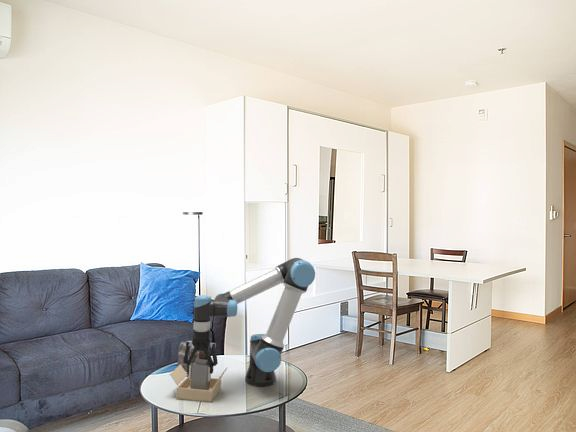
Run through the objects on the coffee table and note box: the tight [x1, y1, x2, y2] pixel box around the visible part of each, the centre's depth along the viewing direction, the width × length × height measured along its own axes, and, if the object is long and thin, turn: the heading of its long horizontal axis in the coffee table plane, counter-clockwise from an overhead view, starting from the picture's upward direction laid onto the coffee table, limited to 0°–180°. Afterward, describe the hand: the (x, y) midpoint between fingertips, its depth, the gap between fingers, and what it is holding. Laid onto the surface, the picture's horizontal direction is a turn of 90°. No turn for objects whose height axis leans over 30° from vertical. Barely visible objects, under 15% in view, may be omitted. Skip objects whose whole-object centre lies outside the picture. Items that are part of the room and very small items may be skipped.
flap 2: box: [213, 367, 228, 388], centre depth 215 cm, size 6×13×1 cm
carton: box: [175, 375, 222, 403], centre depth 216 cm, size 16×15×5 cm
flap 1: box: [169, 365, 188, 386], centre depth 217 cm, size 6×13×1 cm
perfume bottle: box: [190, 351, 210, 390], centre depth 216 cm, size 7×7×18 cm
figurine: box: [176, 340, 200, 372], centre depth 249 cm, size 10×11×15 cm
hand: (199, 379), depth 216 cm, fingers open, 8 cm apart
